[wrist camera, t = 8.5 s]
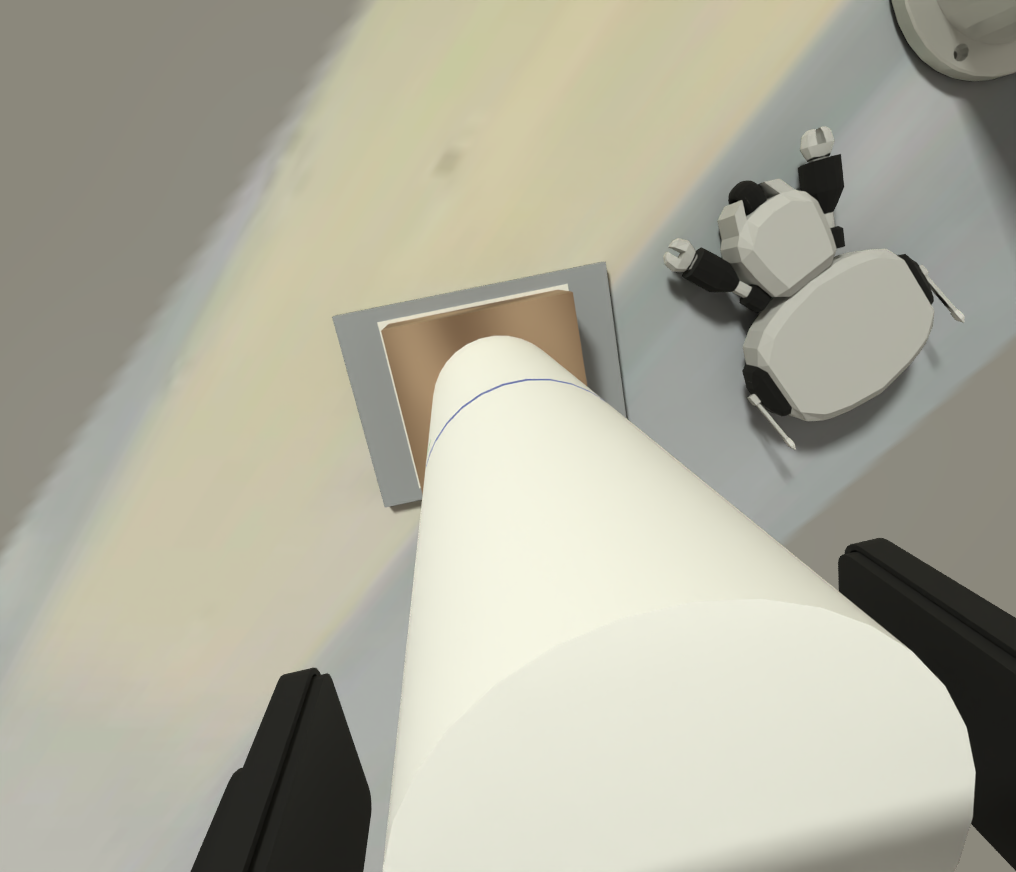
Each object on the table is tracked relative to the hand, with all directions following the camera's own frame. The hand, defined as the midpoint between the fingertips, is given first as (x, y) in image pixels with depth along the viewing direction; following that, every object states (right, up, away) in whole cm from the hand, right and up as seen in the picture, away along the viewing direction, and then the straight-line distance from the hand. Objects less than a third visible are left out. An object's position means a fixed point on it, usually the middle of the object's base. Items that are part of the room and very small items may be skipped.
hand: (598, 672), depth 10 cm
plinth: (-3, +7, +24) cm, 25 cm away
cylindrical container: (-2, +6, +21) cm, 22 cm away
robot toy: (+16, +13, +26) cm, 33 cm away
